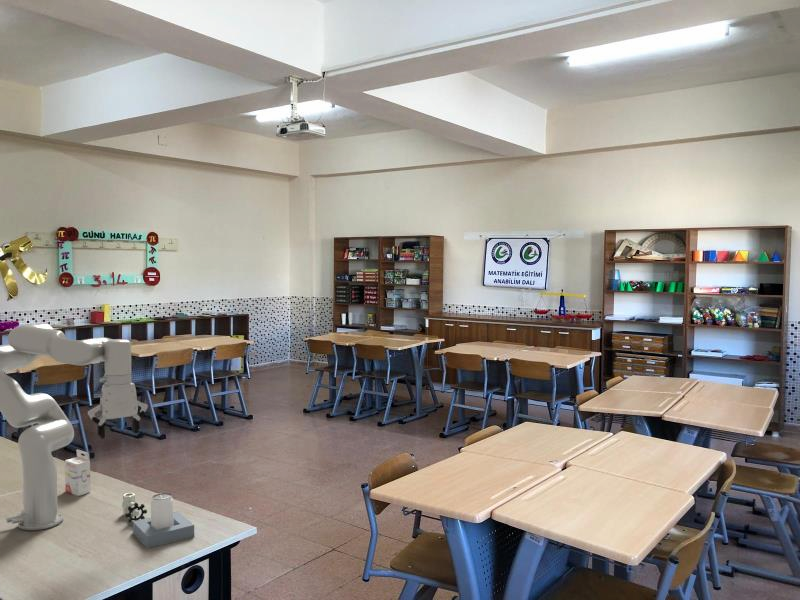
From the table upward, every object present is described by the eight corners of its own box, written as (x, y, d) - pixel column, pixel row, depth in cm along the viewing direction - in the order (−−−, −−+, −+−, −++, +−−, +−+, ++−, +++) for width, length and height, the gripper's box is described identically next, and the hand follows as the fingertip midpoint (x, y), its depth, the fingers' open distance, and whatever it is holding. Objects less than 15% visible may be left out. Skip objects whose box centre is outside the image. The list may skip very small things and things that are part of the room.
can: (152, 540, 196) (152, 501, 195) (150, 532, 201) (149, 494, 201) (175, 536, 199) (174, 497, 198) (171, 528, 204) (171, 491, 204)
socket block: (147, 548, 190) (147, 536, 190) (132, 532, 201) (132, 521, 201) (194, 536, 199) (194, 524, 199) (178, 521, 210) (177, 511, 210)
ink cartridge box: (64, 491, 237) (63, 451, 236) (77, 488, 241) (76, 448, 240) (78, 496, 232) (77, 455, 231) (91, 492, 236) (90, 452, 235)
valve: (117, 514, 216) (125, 526, 206) (116, 494, 216) (125, 505, 206) (137, 510, 220) (147, 521, 210) (137, 490, 220) (147, 501, 210)
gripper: (90, 384, 191) (91, 442, 192) (150, 378, 202) (151, 433, 203) (84, 381, 197) (85, 436, 198) (143, 375, 208) (143, 428, 208)
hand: (118, 435), depth 200 cm, fingers open, 9 cm apart
